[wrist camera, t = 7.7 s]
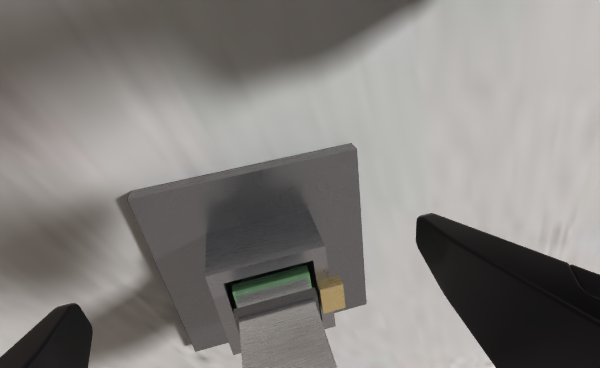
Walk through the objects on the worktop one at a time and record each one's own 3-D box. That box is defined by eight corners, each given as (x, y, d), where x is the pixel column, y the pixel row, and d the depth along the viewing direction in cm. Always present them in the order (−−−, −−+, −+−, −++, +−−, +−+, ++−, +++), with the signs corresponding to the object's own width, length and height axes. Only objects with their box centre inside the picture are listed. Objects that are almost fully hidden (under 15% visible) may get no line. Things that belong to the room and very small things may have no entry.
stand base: (351, 143, 23) (390, 183, 18) (361, 295, 30) (392, 355, 25) (130, 191, 21) (104, 250, 16) (196, 340, 28) (192, 415, 23)
